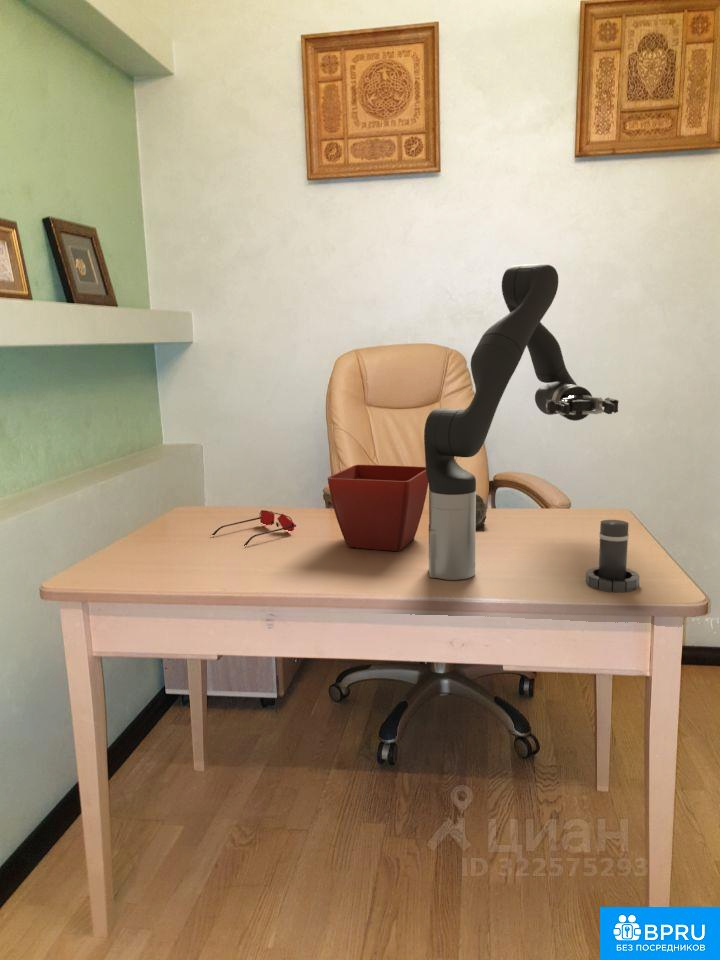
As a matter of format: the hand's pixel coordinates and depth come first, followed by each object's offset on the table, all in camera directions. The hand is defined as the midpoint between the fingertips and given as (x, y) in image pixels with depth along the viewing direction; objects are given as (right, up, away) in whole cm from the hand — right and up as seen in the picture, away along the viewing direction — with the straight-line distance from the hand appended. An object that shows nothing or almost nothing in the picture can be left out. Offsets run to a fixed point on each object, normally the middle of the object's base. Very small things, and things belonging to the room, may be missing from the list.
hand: (589, 409), depth 152 cm
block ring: (+2, -34, -8) cm, 35 cm away
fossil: (-20, -26, +37) cm, 49 cm away
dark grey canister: (+2, -34, -8) cm, 35 cm away
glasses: (-72, -29, +32) cm, 84 cm away
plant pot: (-41, -29, +23) cm, 56 cm away
